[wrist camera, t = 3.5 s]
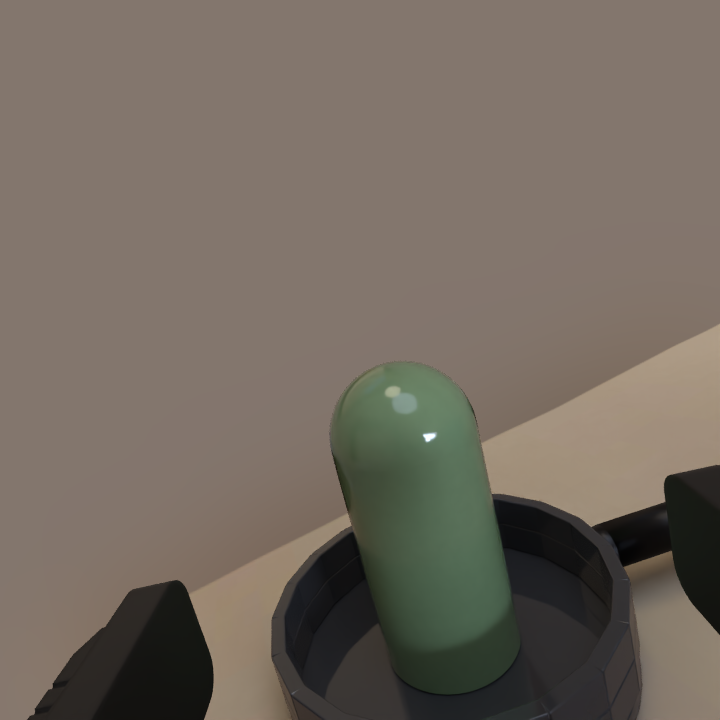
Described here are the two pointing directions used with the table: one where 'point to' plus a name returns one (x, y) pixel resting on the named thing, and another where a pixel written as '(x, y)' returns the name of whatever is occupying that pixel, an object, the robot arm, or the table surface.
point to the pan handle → (638, 534)
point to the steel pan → (535, 616)
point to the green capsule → (426, 527)
